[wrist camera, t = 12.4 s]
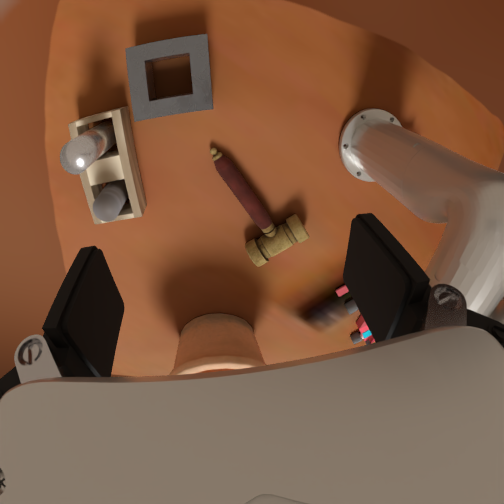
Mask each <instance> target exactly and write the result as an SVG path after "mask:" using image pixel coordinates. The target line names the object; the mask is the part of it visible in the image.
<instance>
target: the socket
mask: <svg viewBox="0 0 504 504" xmlns="http://www.w3.org/2000/svg"><path fill="white" fill-rule="evenodd" d="M184 56H190V65H191V77H192V87H193V92H191V93H184V94H178V95H172V96H166V97H160V98H156V93H155V84H154V75H153V65H152V62H155V61H161V60H166V59H172V58H178V57H184ZM126 60H127V70H128V78H129V87H130V94H131V102H132V109H133V115H134V122H136V121H141V120H146V119H151V118H156V117H162V116H167V115H173V114H180V113H186V112H194V111H201V110H209V109H213V101H212V90H211V78H210V65H209V52H208V38H207V34H201V35H193V36H186V37H179V38H173V39H167V40H162V41H157V42H152V43H147V44H142V45H138V46H134V47H130V48H126Z"/></svg>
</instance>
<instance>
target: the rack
mask: <svg viewBox="0 0 504 504" xmlns="http://www.w3.org/2000/svg"><path fill="white" fill-rule="evenodd" d="M110 117H112V120H113V126H114V131H115V136H116V142H117V147H118V150H114V151H110V152H106V153H104V154H103V155H101V156H100V157H99V158H98V159H97V160H96V161H95V162H94V163H93V164H91V165H90V166H89V167H88V168H87V169H86V170H85V171H84V172H82V173H80V177H81V181H82V184H83V188H84V191H85V195H86V198H87V201H88V204H89V208H90V211H91V214H92V217H93V220H94V223H95V224H100V223H106V222H112V221H117V220H123V219H130V218H136V217H142V216H143V213H144V211H145V208H146V206H147V203H146V199H145V194H144V190H143V186H142V181H141V176H140V171H139V167H138V162H137V157H136V151H135V146H134V141H133V135H132V129H131V123H130V117H129V110H128V106H125V107H121V108H117V109H113V110H109V111H106V112H102V113H98V114H95V115H91V116H88V117H85V118H81V119H78V120H76V121H74V122H72V123H70V124H68V126H69V131H70V136H71V140H72V139H74V138H76V137H77V136H79V135H81V134H83V133H84V132H86V131H88V130H89V128H88V123H91V122H95V121H99V120H102V119H106V118H110ZM106 182H108V184H107V185H106V186H105V187H104V189H103V188H102V184H101V183H106ZM128 196H129V200H130V203H128V204H124V203H125V201H126V200H127V198H128Z"/></svg>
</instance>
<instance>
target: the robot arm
mask: <svg viewBox="0 0 504 504" xmlns="http://www.w3.org/2000/svg"><path fill="white" fill-rule="evenodd" d="M361 115H362V117H361ZM344 144H345V145H344ZM339 152H340V157H341V160H342V162H343V164H344V166H345V168H346V169H347V170H348V171H349V172H350V173H351V174H352V175H353V176H355V177H356V178H358V179H360V180H363V181H368V182H371V181H376V182H377V183H378V184H379V185H381V186H382V187H383V188H384V189H386V190H387V191H388V192H389V193H390V194H392V195H393V196H394V197H395V198H396V199H397V200H399V201H400V202H401V203H402V204H403V205H404V206H405V207H407V208H408V209H409V210H410V211H411V212H412V213H413V214H415V215H416V216H417V217H419V218H420V219H422V220H424V221H427V222H431V223H447V225H446V228H445V230H444V233H443V235H442V238H441V241H440V243H439V245H438V247H437V249H436V251H435V253H434V255H433V257H432V259H431V261H430V263H429V265H428V267H427V269H426V271H425V272H424V271H423V270H422V269H421V267H420V266H419V265H418V264H417V263H416V261H415V260H414V259H413V258H412V257H411V256H410V254H409V253H408V252H407V251H406V250H405V249H404V247H403V246H402V245H401V244H400V243H399V242H398V241H397V240H396V238H395V237H394V236H393V235H392V234H391V233H390V232H389V231H388V230H387V228H386V227H385V226H384V225H383V224H382V223H381V222H380V221H379V220H378V219H377V218H376V217H375V216H374V215H373V214H372V213H367V214H358V215H357V216H356V218H354V219H353V220H352V223H351V230H350V237H349V243H348V249H347V255H346V261H345V267H344V273H343V279H344V283H345V285H346V287H347V288H348V290H349V292H350V294H351V296H352V298H353V299H354V301H355V303H356V305H357V307H358V309H359V311H360V313H361V315H362V316H363V318H364V320H365V322H366V324H367V326H368V328H369V330H370V332H371V334H372V336H373V338H374V340H375V342H376V343H373V344H369V345H365V346H361V347H357V348H353V349H348V350H344V351H340V352H335V353H330V354H326V355H321V356H316V357H311V358H305V359H300V360H294V361H289V362H283V363H277V364H271V365H264V366H257V367H250V368H242V369H234V370H226V371H217V372H206V373H195V374H182V375H167V376H144V377H111V372H112V366H113V361H114V355H115V350H116V345H117V340H118V336H119V331H120V327H121V322H122V318H123V314H124V302H123V300H122V298H121V295H120V293H119V291H118V289H117V286H116V284H115V282H114V279H113V277H112V275H111V272H110V270H109V267H108V265H107V262H106V260H105V257H104V255H103V252H102V250H101V249H98V248H97V247H96V246H91V247H84V248H81V249H80V251H79V253H78V254H77V256H76V258H75V260H74V262H73V264H72V266H71V267H70V269H69V271H68V273H67V275H66V277H65V279H64V281H63V283H62V285H61V287H60V289H59V291H58V294H57V296H56V298H55V300H54V302H53V304H52V306H51V309H50V311H49V313H48V316H47V318H46V320H45V323H44V325H43V327H42V329H43V330H44V335H43V337H42V336H40V335H32V336H29V337H27V338H26V339H24V340H23V341H22V342H21V343H20V345H19V346H18V347H17V350H16V352H15V357H14V359H15V365H16V366H15V367H14V368H13V369H12V370H11V371H9V372H8V373H7V374H6V375H4V377H2V378H1V379H0V504H504V300H501V299H502V298H503V296H504V174H503V173H501V172H499V171H496V170H494V169H491V168H489V167H486V166H483V165H481V164H479V163H476V162H474V161H472V160H470V159H468V158H466V157H464V156H462V155H459V154H457V153H455V152H453V151H451V150H449V149H448V148H446V147H444V146H442V145H440V144H438V143H436V142H434V141H431V140H429V139H427V138H425V137H423V136H421V135H419V134H416V133H414V132H412V131H410V130H407V129H405V128H403V127H402V125H401V124H400V122H399V121H398V120H397V118H396V117H395V116H393V115H392V114H391V113H389V112H387V111H384V110H381V109H376V108H370V109H365V110H362V111H360V112H358V113H356V114H355V115H353V116H352V117H351V118H350V119H349V120H348V122H347V123H346V125H345V126H344V128H343V130H342V133H341V136H340V141H339Z"/></svg>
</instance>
